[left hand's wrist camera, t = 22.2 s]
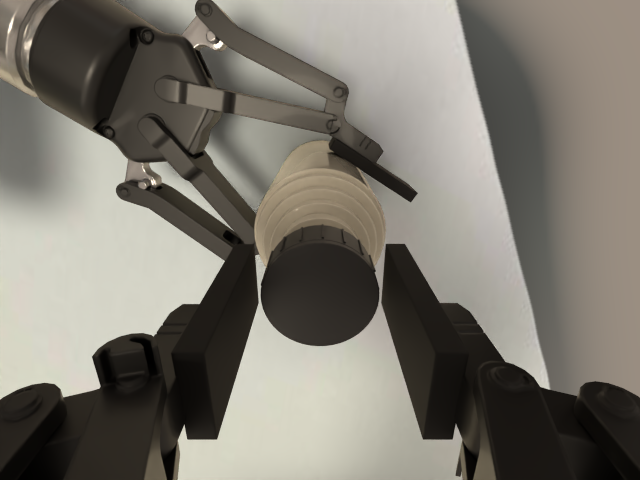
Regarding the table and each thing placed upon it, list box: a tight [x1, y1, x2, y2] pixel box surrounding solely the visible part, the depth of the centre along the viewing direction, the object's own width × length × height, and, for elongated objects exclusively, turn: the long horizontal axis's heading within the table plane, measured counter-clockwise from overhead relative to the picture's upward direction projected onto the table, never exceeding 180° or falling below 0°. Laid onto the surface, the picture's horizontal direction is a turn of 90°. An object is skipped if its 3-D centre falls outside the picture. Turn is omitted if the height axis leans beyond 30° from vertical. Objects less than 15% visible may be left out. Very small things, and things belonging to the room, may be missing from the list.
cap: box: [261, 224, 379, 346], centre depth 14 cm, size 4×4×2 cm
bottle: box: [254, 140, 386, 268], centre depth 22 cm, size 7×7×19 cm
